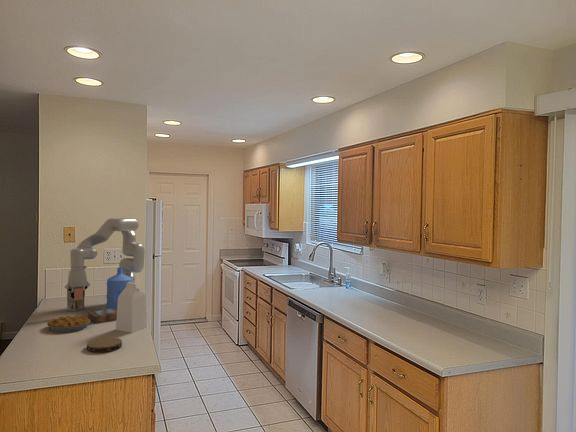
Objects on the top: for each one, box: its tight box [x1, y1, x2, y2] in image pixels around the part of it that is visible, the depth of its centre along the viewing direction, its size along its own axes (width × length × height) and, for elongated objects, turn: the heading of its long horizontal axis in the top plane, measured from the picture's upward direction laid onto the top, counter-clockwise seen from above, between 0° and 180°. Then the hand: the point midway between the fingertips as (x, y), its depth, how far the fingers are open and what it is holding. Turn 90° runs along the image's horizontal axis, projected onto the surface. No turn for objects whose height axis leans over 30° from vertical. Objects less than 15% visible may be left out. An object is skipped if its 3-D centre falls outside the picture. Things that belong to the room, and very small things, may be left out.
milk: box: [115, 282, 148, 334], centre depth 248 cm, size 12×12×26 cm
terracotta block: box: [73, 287, 83, 300], centre depth 272 cm, size 5×5×7 cm
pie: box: [46, 315, 91, 333], centre depth 248 cm, size 22×22×5 cm
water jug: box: [105, 267, 132, 309], centre depth 288 cm, size 16×16×28 cm
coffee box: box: [66, 286, 85, 312], centre depth 288 cm, size 9×6×16 cm
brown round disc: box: [86, 336, 123, 354], centre depth 216 cm, size 16×16×3 cm
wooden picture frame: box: [87, 308, 117, 324], centre depth 268 cm, size 16×14×4 cm
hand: (77, 297), depth 272 cm, fingers closed on terracotta block, 5 cm apart
